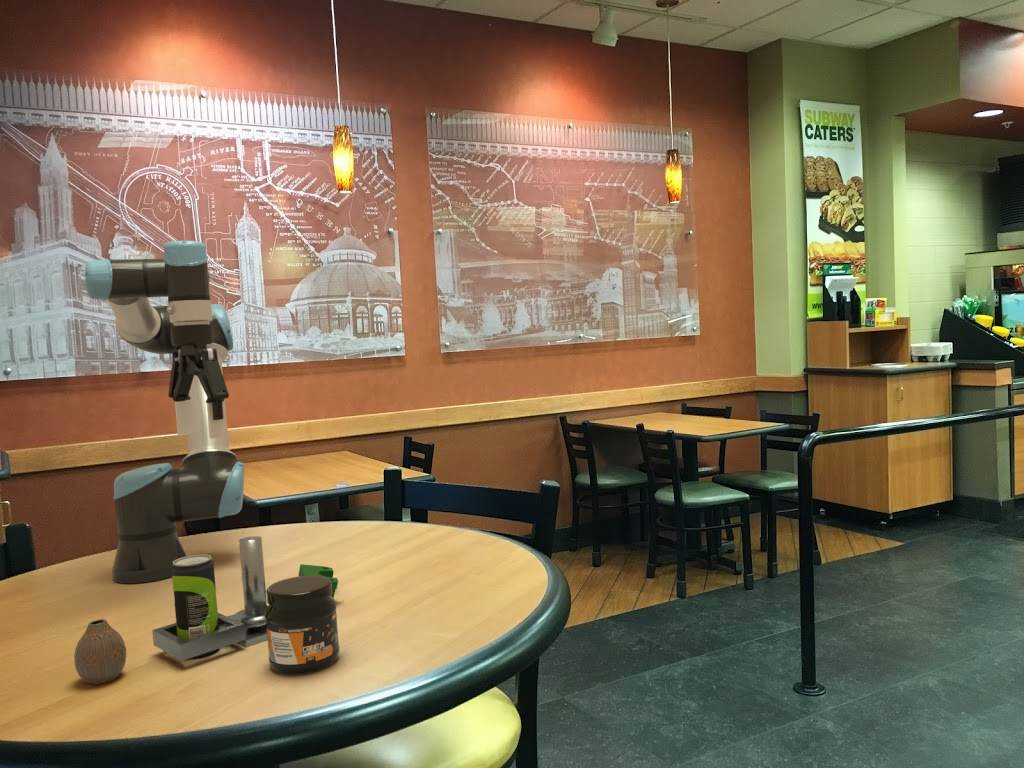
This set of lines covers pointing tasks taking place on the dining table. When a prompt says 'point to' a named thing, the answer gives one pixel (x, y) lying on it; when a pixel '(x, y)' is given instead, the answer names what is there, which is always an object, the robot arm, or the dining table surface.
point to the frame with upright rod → (233, 628)
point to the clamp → (319, 574)
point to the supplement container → (301, 625)
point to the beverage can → (195, 597)
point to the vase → (99, 653)
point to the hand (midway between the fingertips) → (200, 436)
